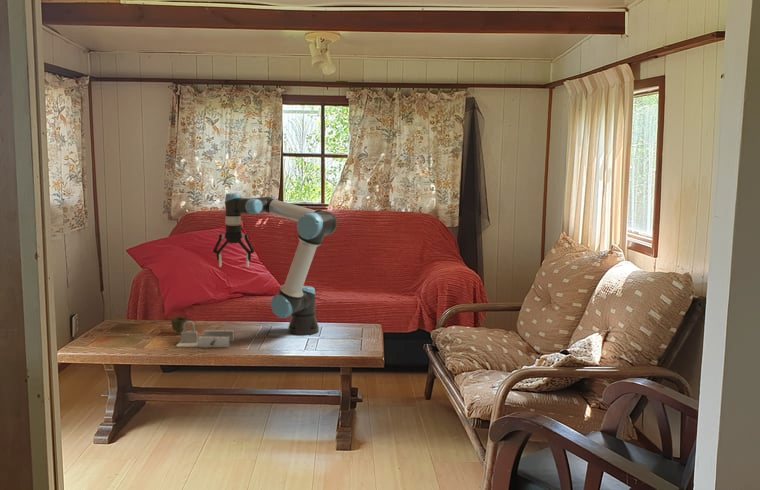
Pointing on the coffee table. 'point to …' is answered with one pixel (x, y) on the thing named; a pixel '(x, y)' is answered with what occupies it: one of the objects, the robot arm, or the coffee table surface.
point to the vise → (216, 338)
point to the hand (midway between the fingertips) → (234, 266)
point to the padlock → (189, 334)
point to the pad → (187, 344)
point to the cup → (178, 324)
